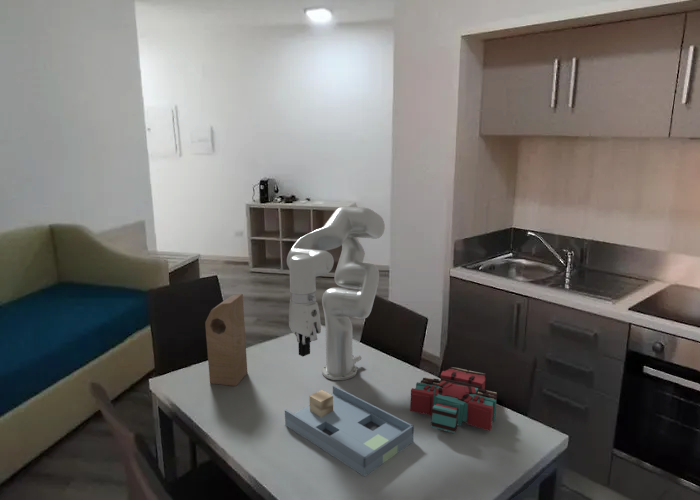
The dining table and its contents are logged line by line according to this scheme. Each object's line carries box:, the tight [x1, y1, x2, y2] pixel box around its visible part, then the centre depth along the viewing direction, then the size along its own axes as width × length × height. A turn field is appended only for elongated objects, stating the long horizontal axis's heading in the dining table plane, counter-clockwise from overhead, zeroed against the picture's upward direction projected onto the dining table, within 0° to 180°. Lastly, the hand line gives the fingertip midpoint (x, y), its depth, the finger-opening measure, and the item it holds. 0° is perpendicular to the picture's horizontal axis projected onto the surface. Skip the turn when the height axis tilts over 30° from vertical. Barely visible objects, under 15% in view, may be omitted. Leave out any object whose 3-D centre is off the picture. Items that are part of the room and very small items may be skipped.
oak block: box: [309, 389, 333, 417], centre depth 148 cm, size 5×5×5 cm
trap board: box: [284, 385, 415, 477], centre depth 141 cm, size 20×32×5 cm, turn 45°
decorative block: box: [204, 293, 248, 387], centre depth 170 cm, size 10×10×30 cm
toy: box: [409, 366, 498, 434], centre depth 152 cm, size 24×9×30 cm
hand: (304, 354), depth 149 cm, fingers closed
